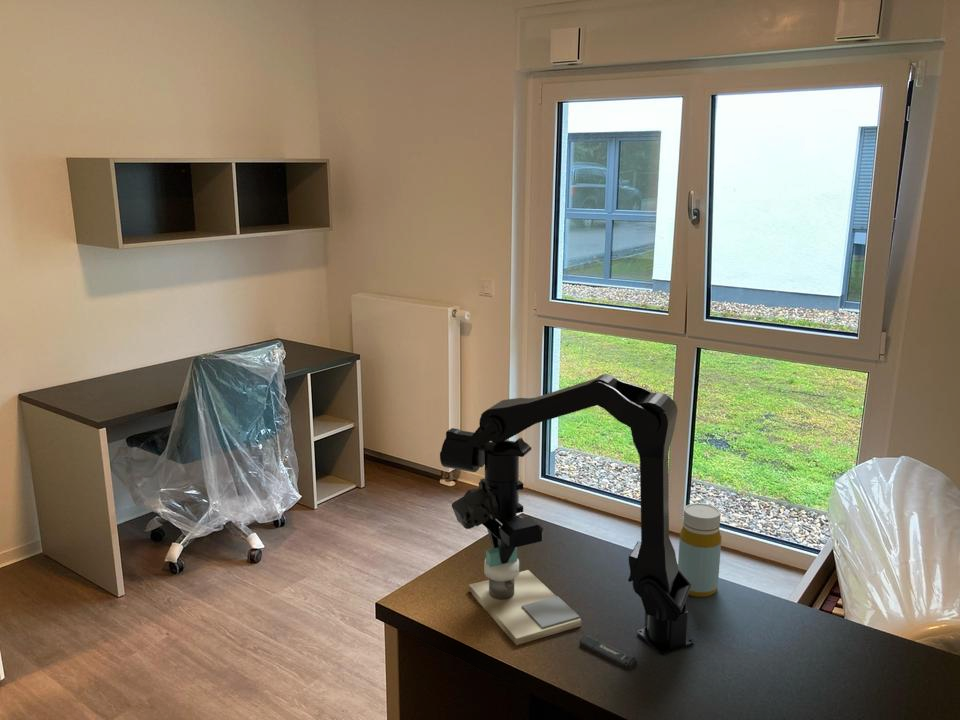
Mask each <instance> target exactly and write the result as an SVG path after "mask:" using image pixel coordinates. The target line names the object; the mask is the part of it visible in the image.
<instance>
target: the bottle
mask: <svg viewBox="0 0 960 720" xmlns="http://www.w3.org/2000/svg"><path fill="white" fill-rule="evenodd" d="M682 515H683V519H682V520H683V521H682V523H683V524H682V527H681V529H680V531H679V540H678V541H679V542H678V557H677V558H678V560H677V565H678V570H679V571H680V572H681V573H682V574H683V576H684V577H685V578H686V579H687V580H688V581H689V582H690V584H691V588H690V591H689V593H688V596H691V597H695V598H709V597H710V596H713V595H714V594H715V593H716V592H717V591H718V589H719V576H720V575H719V574H720V565H721V563H720V562H721V549H722V535H721V532H720V526H721V525H720V524H721V517H722V516H721V510H719V509H718V508H717V507H716V506H713V505H711V504H706V503H698V502H697V503H696V502H695V503H690V504H689V503H688V504H686V506H684V509H683V514H682Z"/></svg>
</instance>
